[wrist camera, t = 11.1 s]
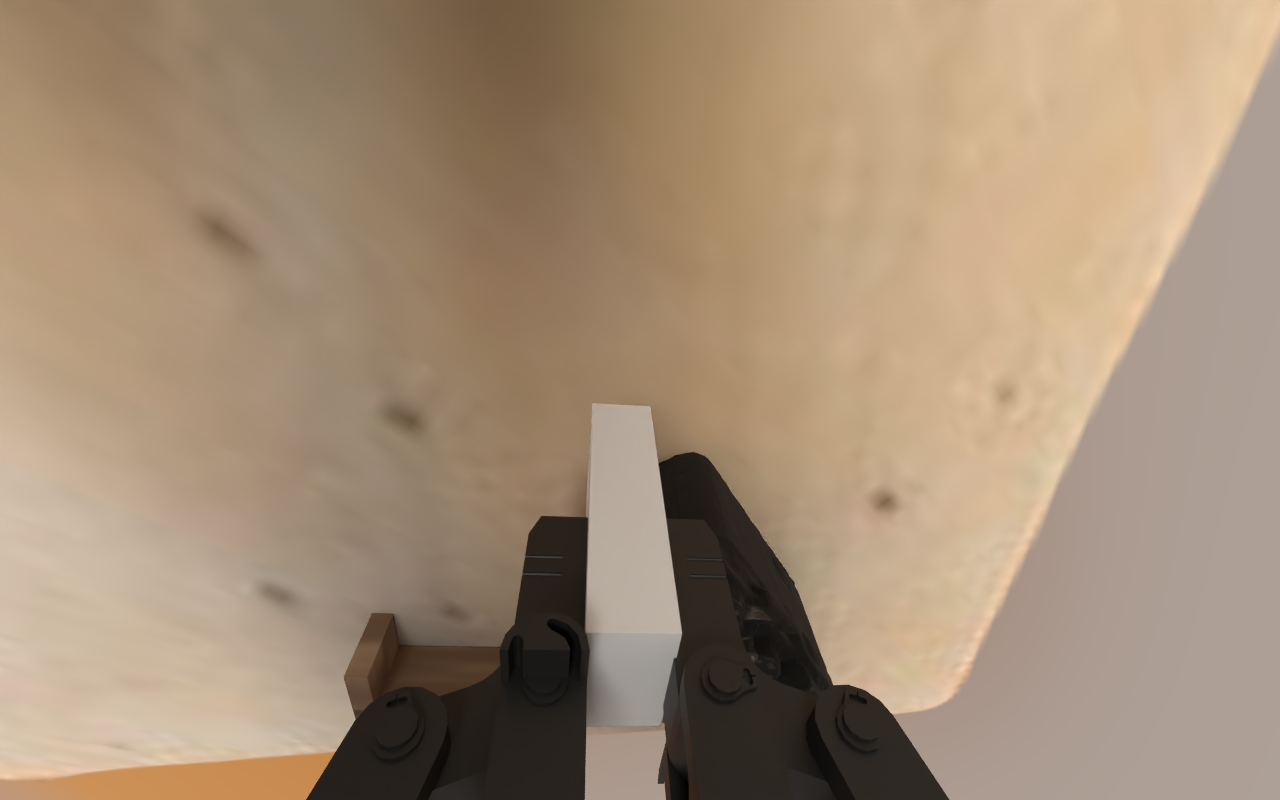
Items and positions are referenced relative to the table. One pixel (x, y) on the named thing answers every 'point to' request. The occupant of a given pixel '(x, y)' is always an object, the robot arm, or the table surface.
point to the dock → (411, 665)
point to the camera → (748, 575)
